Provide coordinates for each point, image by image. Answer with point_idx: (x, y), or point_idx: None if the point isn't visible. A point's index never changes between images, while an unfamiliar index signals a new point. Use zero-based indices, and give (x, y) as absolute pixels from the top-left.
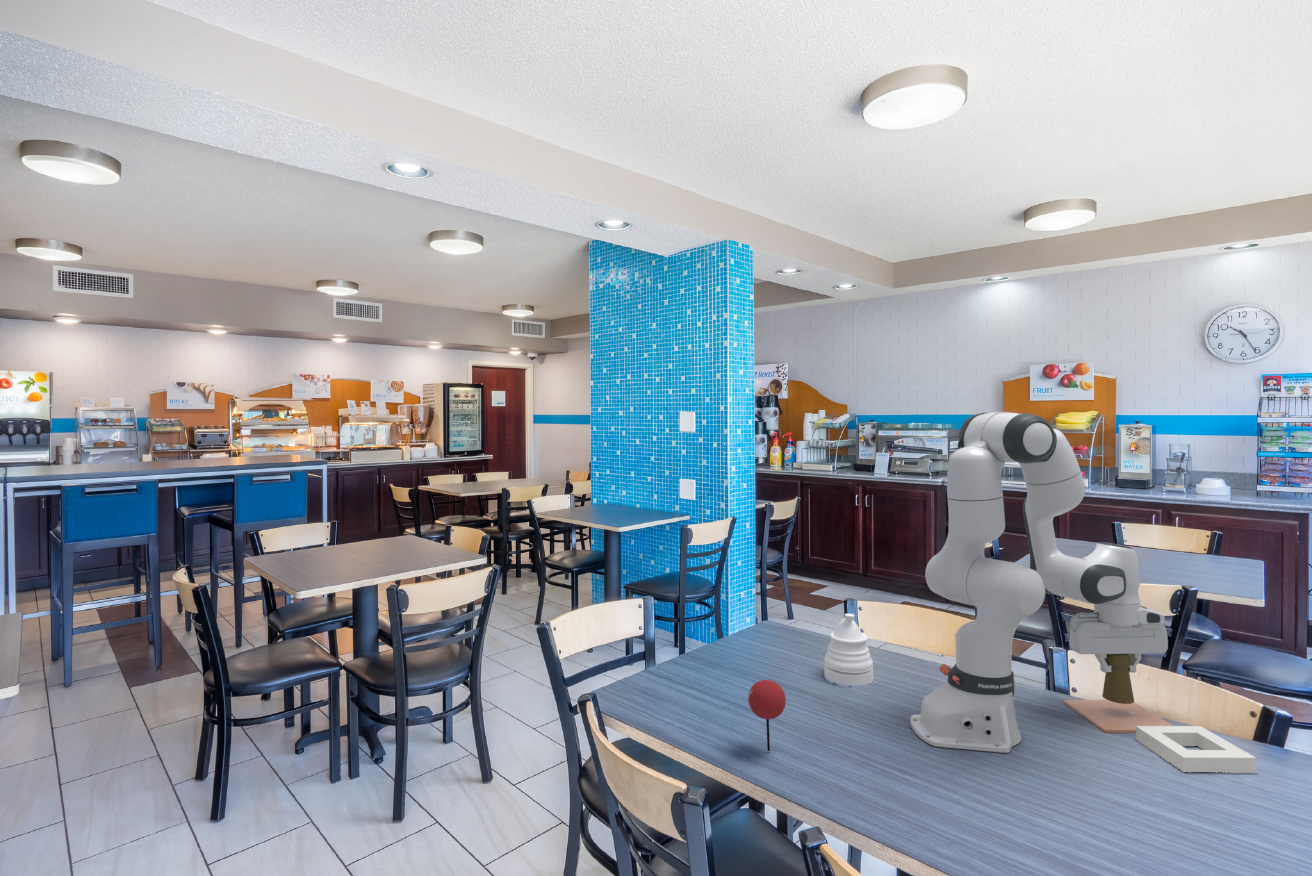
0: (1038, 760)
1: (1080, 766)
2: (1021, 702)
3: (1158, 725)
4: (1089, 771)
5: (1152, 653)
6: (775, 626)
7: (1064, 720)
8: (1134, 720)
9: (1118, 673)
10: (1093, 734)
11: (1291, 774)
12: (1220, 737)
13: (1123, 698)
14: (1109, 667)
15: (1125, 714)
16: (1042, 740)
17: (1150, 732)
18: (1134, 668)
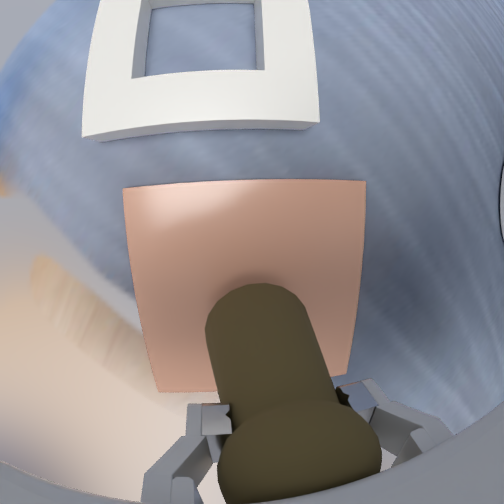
0: (498, 94)
1: (461, 56)
2: (425, 348)
3: (172, 220)
4: (453, 40)
5: (60, 485)
6: None
7: (410, 259)
8: (229, 256)
9: (314, 375)
10: (394, 173)
11: (54, 11)
12: (88, 59)
13: (273, 294)
14: (361, 401)
15: None
16: (482, 158)
17: (299, 73)
18: (198, 419)
